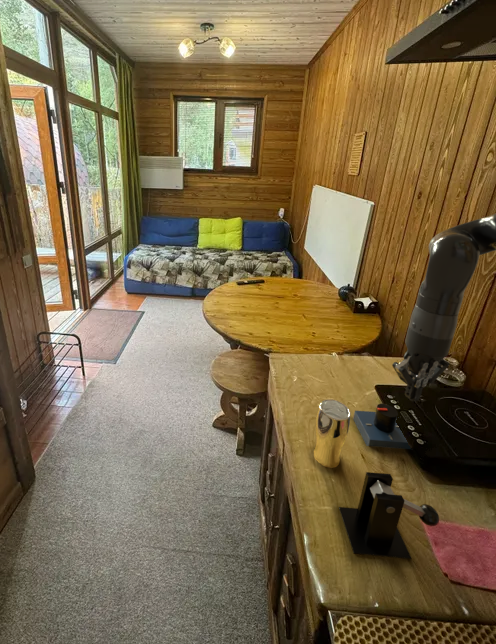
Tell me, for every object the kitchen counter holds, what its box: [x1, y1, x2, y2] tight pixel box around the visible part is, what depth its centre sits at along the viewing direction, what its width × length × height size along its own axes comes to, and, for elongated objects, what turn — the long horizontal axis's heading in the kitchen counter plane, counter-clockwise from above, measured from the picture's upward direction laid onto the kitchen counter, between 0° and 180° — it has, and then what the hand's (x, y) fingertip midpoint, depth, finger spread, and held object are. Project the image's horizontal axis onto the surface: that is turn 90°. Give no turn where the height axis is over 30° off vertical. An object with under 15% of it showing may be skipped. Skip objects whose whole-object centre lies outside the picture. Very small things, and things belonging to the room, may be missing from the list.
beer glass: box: [313, 398, 352, 468], centre depth 72 cm, size 7×7×15 cm
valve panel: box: [353, 410, 412, 450], centre depth 81 cm, size 11×10×3 cm
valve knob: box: [373, 403, 399, 433], centre depth 80 cm, size 5×5×5 cm
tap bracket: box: [338, 471, 412, 560], centre depth 57 cm, size 10×8×13 cm
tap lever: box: [370, 481, 440, 527], centre depth 56 cm, size 13×3×3 cm, turn 84°
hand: (411, 398), depth 68 cm, fingers closed
